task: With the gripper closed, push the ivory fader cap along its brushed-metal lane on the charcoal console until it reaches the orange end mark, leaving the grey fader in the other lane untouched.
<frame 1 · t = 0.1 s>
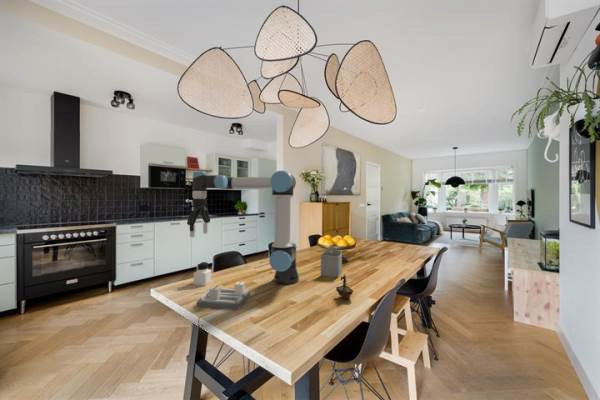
hand: (199, 235, 138), 28 cm above the table, fingers open, 13 cm apart
console: (225, 300, 116), on the table
planter: (334, 276, 154), on the table
medicine bottle: (202, 283, 138), on the table
figurine: (344, 298, 120), on the table
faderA: (240, 288, 119), point 5 cm above the table, slide at 0.0 cm
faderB: (215, 293, 112), point 5 cm above the table, slide at 0.0 cm
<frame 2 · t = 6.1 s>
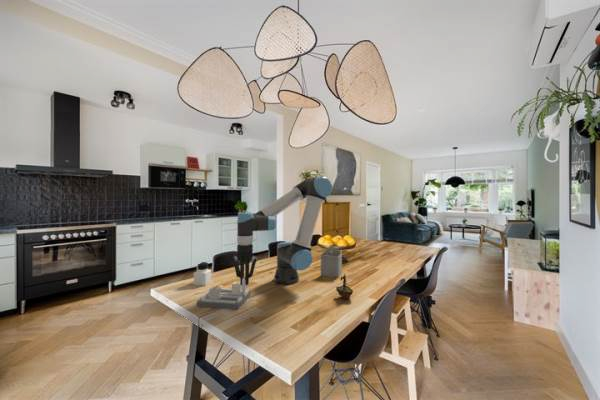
hand: (244, 291, 118), 4 cm above the table, fingers closed
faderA: (237, 287, 119), point 5 cm above the table, slide at 1.5 cm, touching gripper
everything else where it was.
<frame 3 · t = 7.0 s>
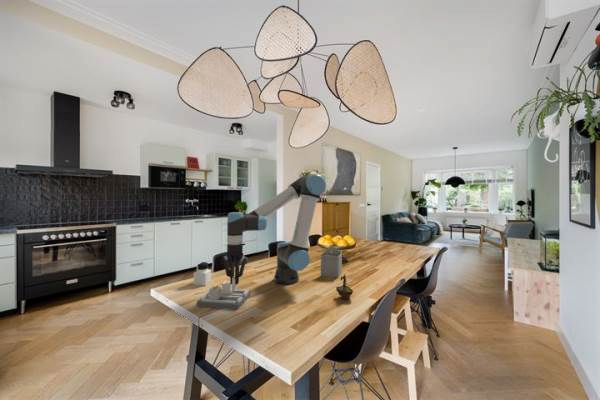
hand: (234, 290, 119), 4 cm above the table, fingers closed
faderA: (227, 287, 120), point 5 cm above the table, slide at 6.8 cm, touching gripper
everything else where it was.
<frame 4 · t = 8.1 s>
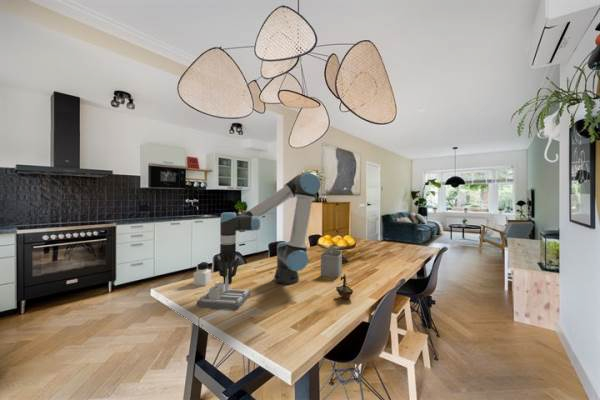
hand: (227, 290, 120), 3 cm above the table, fingers closed
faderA: (220, 286, 120), point 5 cm above the table, slide at 10.4 cm, touching gripper
everything else where it was.
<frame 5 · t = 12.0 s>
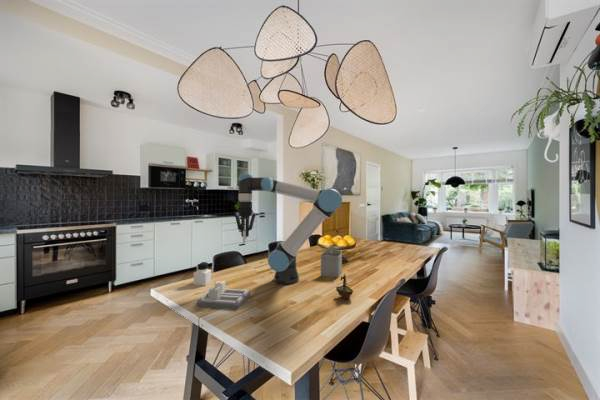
hand: (245, 242, 136), 24 cm above the table, fingers closed
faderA: (220, 286, 120), point 5 cm above the table, slide at 10.4 cm
everything else where it was.
at the end: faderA slide at 10.4 cm; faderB moved 0.0 cm from its start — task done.
